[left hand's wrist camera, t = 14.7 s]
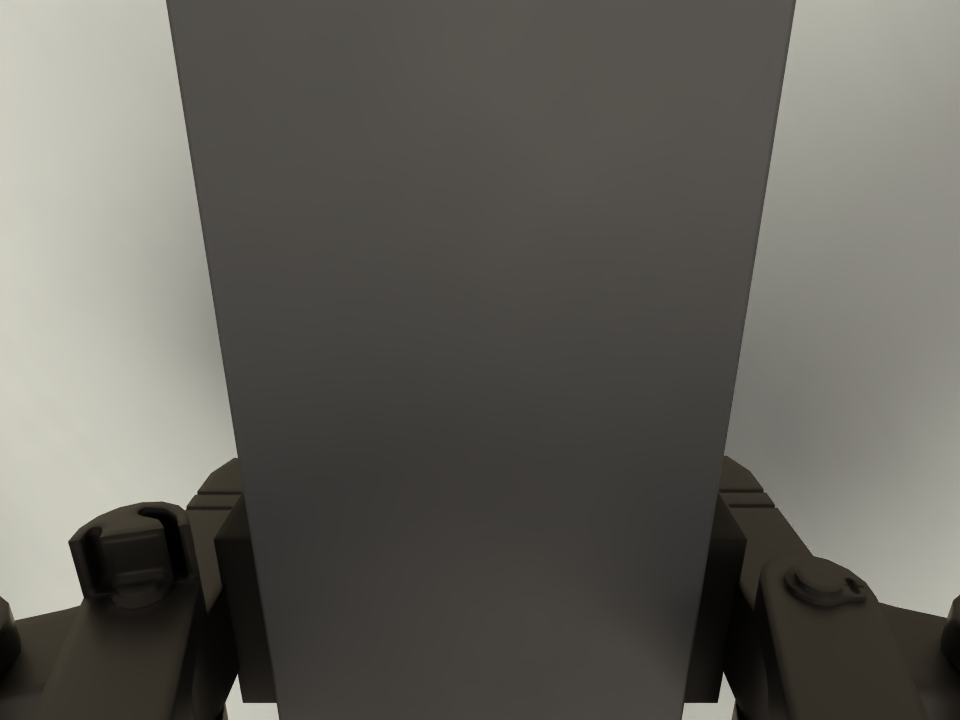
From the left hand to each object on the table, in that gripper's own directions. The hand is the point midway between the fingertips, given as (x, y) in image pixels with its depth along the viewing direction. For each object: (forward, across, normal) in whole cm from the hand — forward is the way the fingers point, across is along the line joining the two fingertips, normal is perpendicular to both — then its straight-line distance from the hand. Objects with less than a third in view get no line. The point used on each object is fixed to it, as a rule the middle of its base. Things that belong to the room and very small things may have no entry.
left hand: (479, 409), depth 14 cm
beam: (+1, 0, -20) cm, 20 cm away
